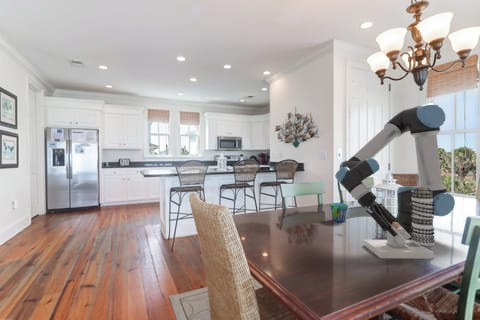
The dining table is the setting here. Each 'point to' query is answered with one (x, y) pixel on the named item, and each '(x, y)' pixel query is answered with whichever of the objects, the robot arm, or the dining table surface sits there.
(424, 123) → the robot arm
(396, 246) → the egg topped pedestal
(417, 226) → the decorative candle
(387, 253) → the socket plate
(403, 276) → the dining table surface
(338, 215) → the snack cup
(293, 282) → the dining table surface
